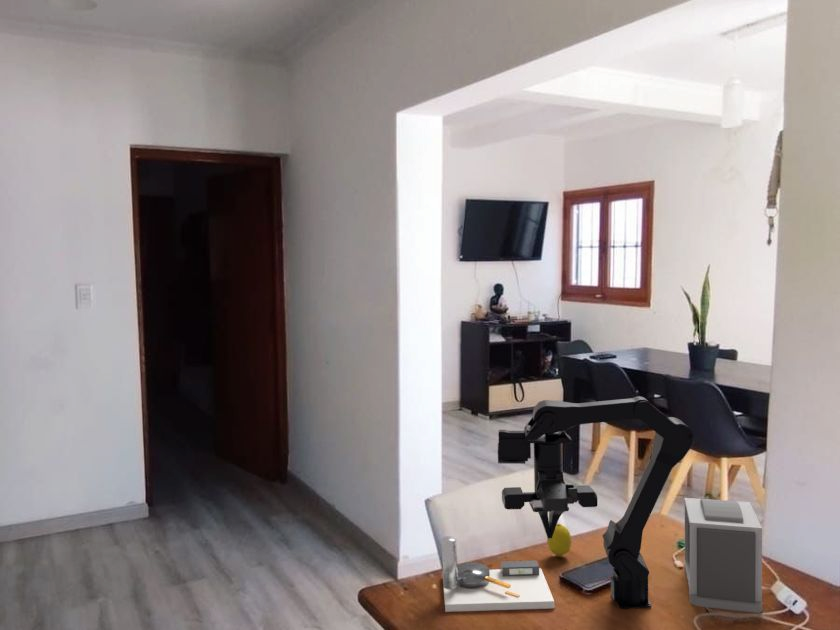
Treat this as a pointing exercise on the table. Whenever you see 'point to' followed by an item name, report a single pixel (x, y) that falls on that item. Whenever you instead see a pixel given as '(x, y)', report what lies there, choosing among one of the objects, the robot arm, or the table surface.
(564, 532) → the lemon
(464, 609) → the stand
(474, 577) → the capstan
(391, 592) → the table surface
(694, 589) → the alarm clock
